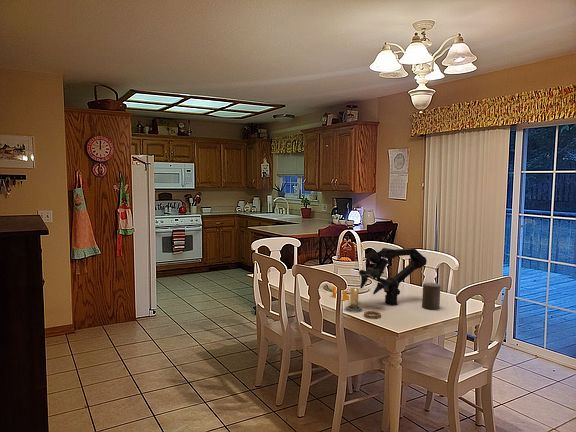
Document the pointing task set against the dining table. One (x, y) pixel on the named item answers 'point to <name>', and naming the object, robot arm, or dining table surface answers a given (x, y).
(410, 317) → the dining table surface
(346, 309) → the hub
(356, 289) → the sleeve
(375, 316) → the stand collar
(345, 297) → the pipe clamp
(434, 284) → the pillar candle
